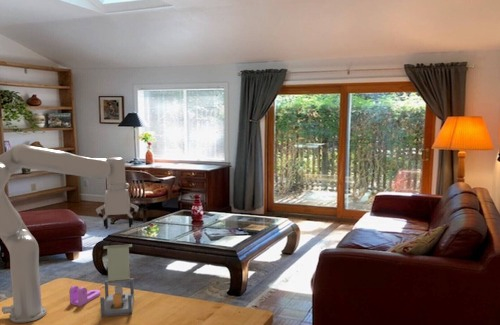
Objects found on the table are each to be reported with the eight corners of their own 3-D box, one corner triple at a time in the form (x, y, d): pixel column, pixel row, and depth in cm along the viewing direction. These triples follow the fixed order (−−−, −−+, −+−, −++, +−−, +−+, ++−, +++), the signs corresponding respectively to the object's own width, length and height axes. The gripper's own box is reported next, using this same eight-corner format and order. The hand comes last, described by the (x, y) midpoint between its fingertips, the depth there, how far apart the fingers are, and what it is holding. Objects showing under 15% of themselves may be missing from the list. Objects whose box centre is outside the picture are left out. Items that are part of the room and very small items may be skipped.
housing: (101, 317, 167) (100, 295, 166) (105, 300, 181) (104, 280, 180) (131, 313, 169) (131, 292, 168) (134, 297, 184) (133, 278, 182)
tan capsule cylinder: (113, 310, 169) (112, 297, 169) (114, 307, 172) (113, 293, 172) (121, 309, 170) (120, 296, 169) (122, 306, 173) (121, 293, 172)
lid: (103, 246, 180) (103, 246, 181) (104, 284, 179) (104, 283, 180) (132, 244, 182) (132, 244, 183) (133, 281, 182) (133, 281, 183)
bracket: (80, 306, 176) (79, 289, 176) (70, 304, 178) (69, 287, 178) (103, 293, 188) (102, 278, 187) (92, 291, 190) (92, 276, 190)
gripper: (138, 184, 189) (140, 223, 191) (95, 186, 186) (98, 226, 188) (137, 187, 182) (139, 228, 184) (93, 189, 178) (95, 231, 181)
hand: (118, 227), depth 186 cm, fingers open, 9 cm apart
